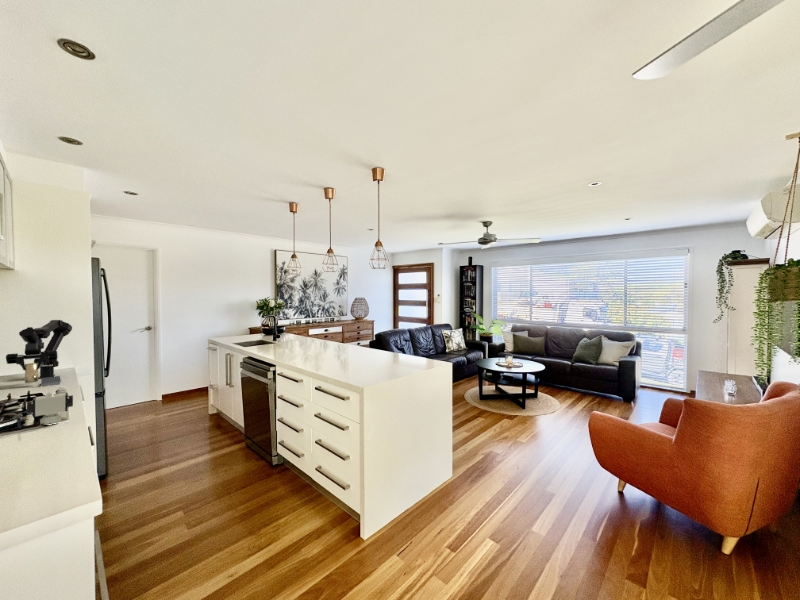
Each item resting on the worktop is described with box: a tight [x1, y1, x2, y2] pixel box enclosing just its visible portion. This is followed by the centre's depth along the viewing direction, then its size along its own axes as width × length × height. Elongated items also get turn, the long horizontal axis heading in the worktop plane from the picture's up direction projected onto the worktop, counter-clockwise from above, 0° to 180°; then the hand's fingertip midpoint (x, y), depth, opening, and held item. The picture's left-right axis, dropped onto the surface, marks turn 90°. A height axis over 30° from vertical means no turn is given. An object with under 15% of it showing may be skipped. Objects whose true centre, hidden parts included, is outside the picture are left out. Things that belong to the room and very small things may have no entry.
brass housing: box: [24, 362, 39, 384], centre depth 175 cm, size 5×5×10 cm
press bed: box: [40, 375, 62, 387], centre depth 179 cm, size 9×7×4 cm
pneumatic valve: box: [26, 392, 74, 426], centre depth 122 cm, size 6×12×12 cm, turn 136°
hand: (31, 369), depth 174 cm, fingers closed on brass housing, 5 cm apart
